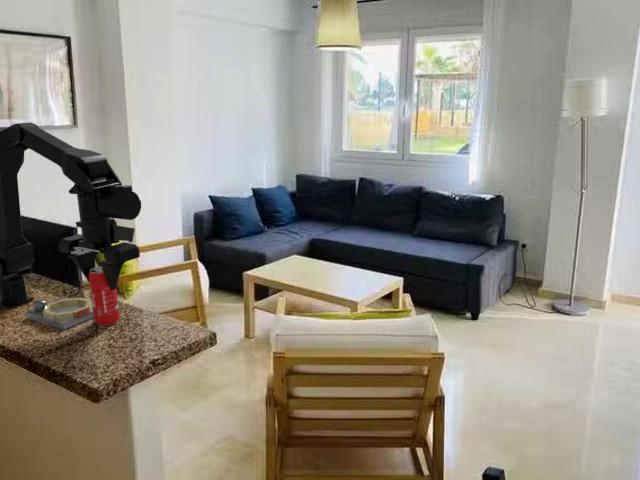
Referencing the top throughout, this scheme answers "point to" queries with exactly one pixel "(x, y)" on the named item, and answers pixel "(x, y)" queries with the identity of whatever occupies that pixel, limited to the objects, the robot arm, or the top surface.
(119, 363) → the top surface
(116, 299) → the beverage can
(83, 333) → the top surface
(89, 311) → the grey plate with ring
